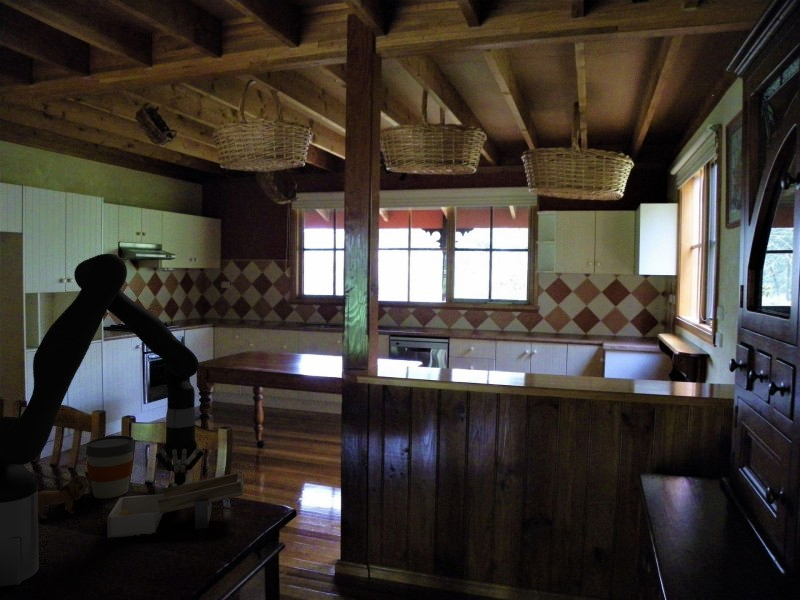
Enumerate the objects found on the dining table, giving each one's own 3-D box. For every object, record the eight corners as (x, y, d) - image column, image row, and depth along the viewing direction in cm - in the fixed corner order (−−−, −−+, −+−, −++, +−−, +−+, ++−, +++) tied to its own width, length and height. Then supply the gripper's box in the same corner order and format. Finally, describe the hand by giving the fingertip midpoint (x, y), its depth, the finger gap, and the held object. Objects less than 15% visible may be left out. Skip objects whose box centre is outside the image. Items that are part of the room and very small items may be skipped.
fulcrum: (207, 528, 138) (207, 500, 138) (194, 529, 137) (195, 501, 137) (211, 509, 149) (211, 484, 149) (200, 510, 148) (200, 484, 148)
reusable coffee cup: (90, 487, 163) (89, 437, 163) (136, 482, 168) (136, 433, 167) (82, 503, 152) (81, 449, 151) (132, 497, 156) (132, 445, 155)
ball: (113, 523, 136) (126, 527, 137) (120, 511, 137) (132, 516, 137) (117, 517, 140) (129, 522, 140) (123, 506, 140) (135, 510, 141)
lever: (242, 497, 141) (240, 483, 141) (160, 516, 136) (157, 501, 136) (245, 474, 158) (242, 461, 158) (171, 489, 153) (169, 476, 153)
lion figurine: (85, 503, 152) (84, 471, 151) (89, 510, 148) (89, 477, 147) (20, 518, 142) (20, 484, 141) (24, 525, 138) (23, 490, 137)
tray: (154, 533, 134) (154, 513, 134) (107, 538, 132) (107, 517, 132) (163, 512, 147) (163, 493, 147) (120, 515, 144) (120, 497, 144)
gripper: (152, 427, 146) (151, 491, 147) (204, 425, 149) (203, 488, 150) (157, 420, 153) (156, 481, 154) (207, 418, 157) (206, 478, 157)
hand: (180, 484), depth 152 cm, fingers closed
